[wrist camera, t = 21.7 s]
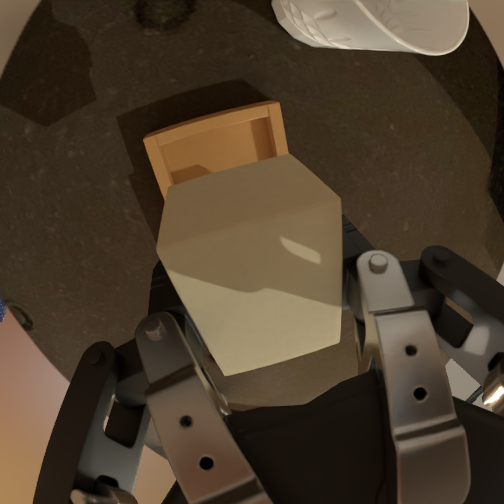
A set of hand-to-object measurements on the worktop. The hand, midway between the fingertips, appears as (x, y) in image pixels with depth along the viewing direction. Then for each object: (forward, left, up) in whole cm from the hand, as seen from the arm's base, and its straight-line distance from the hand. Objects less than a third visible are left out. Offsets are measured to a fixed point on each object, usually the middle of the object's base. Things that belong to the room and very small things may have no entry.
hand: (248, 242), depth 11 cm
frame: (0, -3, -10) cm, 10 cm away
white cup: (+9, +11, -10) cm, 17 cm away
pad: (0, 0, 0) cm, 0 cm away
